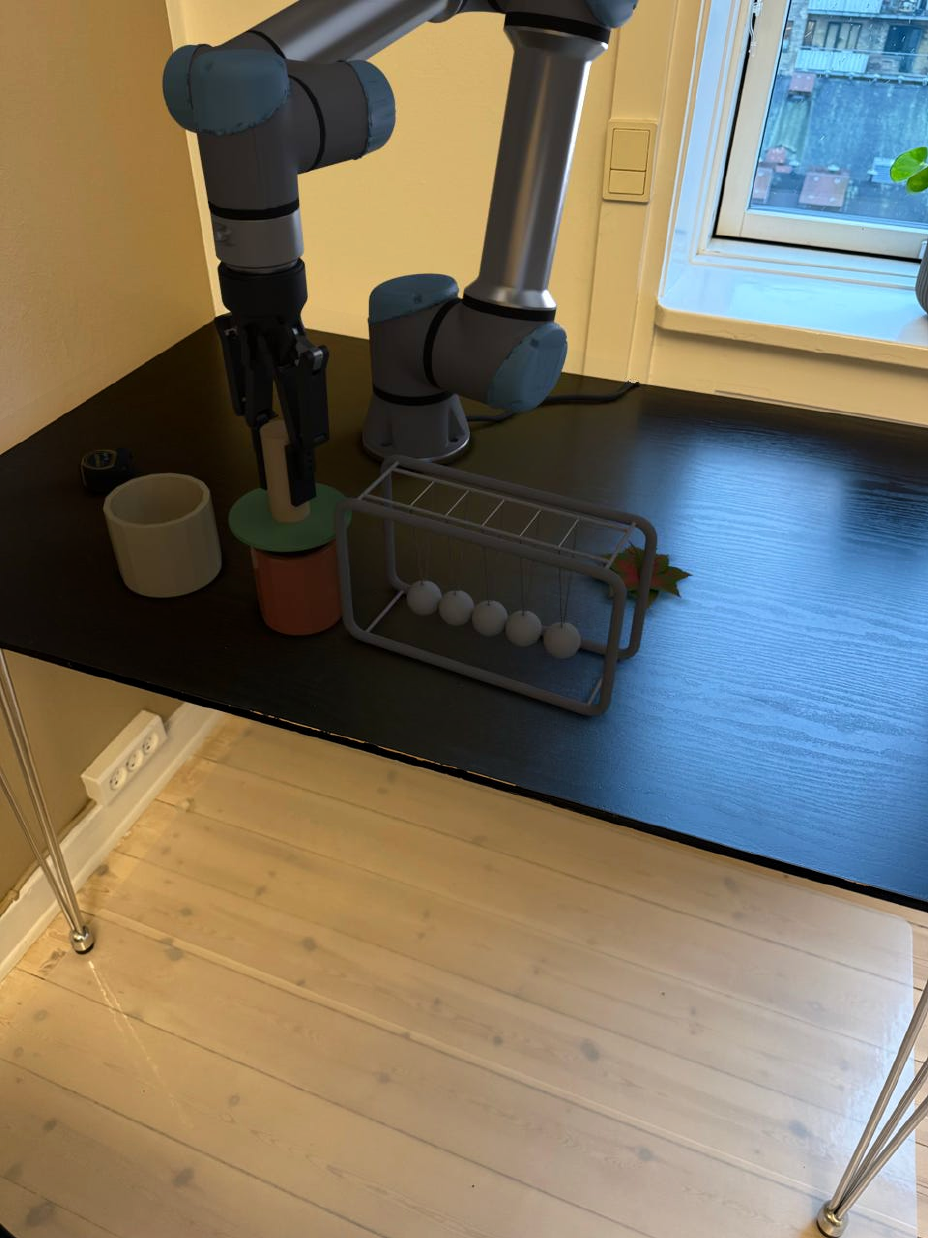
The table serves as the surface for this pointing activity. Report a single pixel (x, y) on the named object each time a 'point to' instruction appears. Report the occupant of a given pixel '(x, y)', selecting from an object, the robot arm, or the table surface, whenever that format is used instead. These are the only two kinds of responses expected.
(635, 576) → the red green leaf
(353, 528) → the table surface
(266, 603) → the cup
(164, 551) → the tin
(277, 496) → the lid
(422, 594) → the newton's cradle
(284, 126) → the robot arm
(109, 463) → the tape measure
